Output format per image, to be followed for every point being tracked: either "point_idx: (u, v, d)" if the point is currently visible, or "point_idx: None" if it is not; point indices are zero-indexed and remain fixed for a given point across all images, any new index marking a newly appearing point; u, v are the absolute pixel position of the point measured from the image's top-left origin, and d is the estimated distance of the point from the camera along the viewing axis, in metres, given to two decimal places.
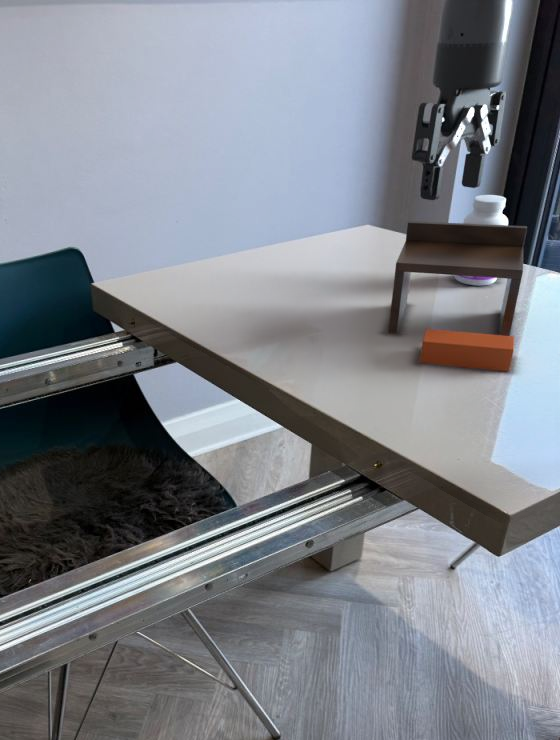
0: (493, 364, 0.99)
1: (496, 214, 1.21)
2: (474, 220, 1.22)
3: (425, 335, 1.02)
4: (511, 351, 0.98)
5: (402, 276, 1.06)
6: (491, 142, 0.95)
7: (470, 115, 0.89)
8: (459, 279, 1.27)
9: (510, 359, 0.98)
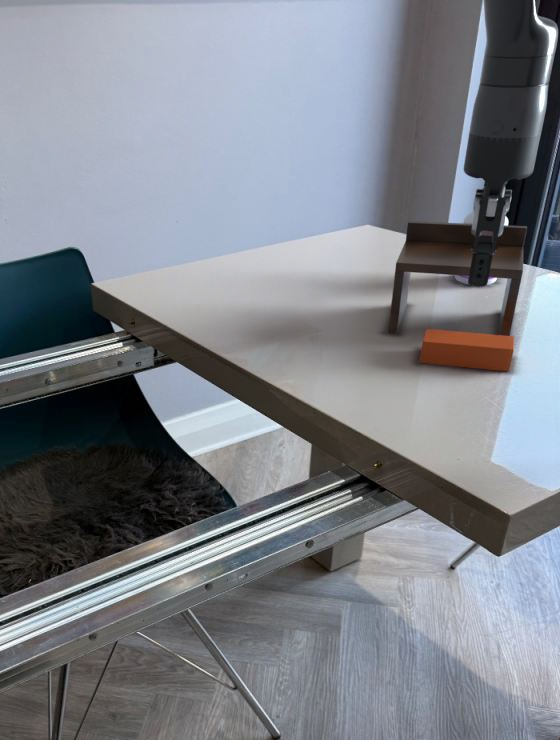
0: (493, 364, 0.99)
1: None
2: None
3: (425, 335, 1.02)
4: (511, 351, 0.98)
5: (402, 276, 1.06)
6: None
7: None
8: (459, 279, 1.27)
9: (510, 359, 0.98)
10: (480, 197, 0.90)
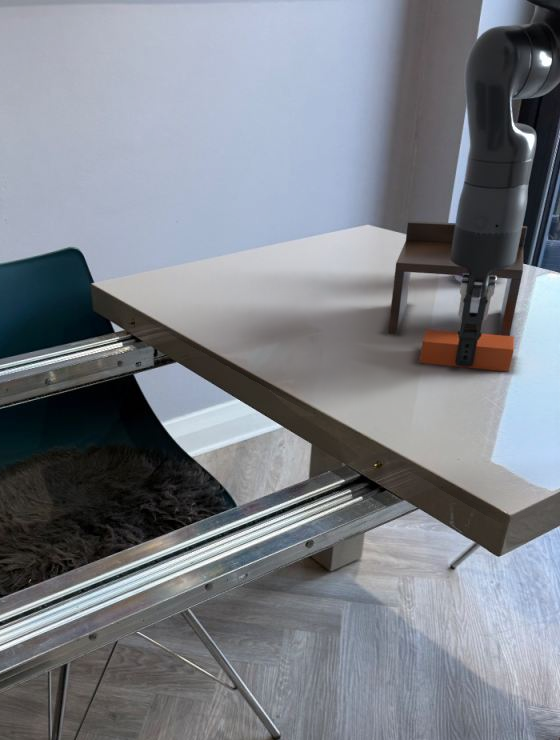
0: (493, 364, 0.99)
1: None
2: None
3: (425, 335, 1.02)
4: (511, 351, 0.98)
5: (402, 276, 1.06)
6: None
7: (494, 288, 0.95)
8: (459, 279, 1.27)
9: (510, 359, 0.98)
10: (466, 285, 0.96)
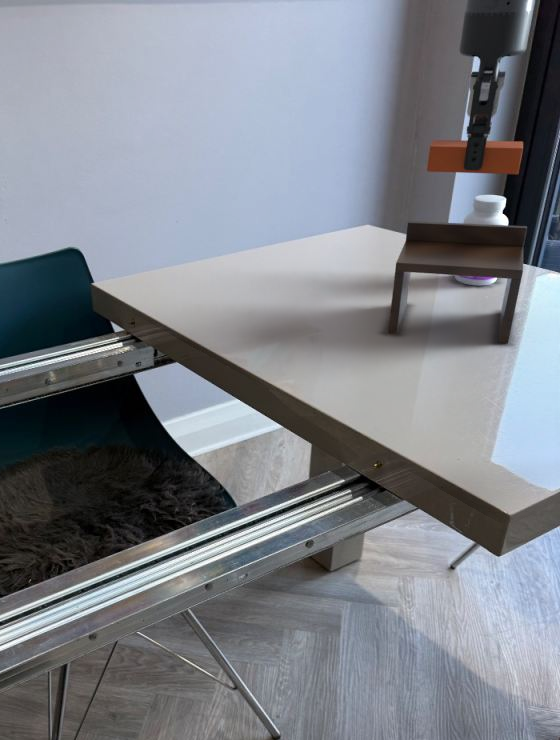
0: (502, 167, 0.98)
1: (496, 214, 1.21)
2: (474, 220, 1.22)
3: (432, 143, 1.01)
4: (520, 150, 0.96)
5: (402, 276, 1.06)
6: None
7: None
8: (459, 279, 1.27)
9: (519, 160, 0.97)
10: (475, 78, 0.94)
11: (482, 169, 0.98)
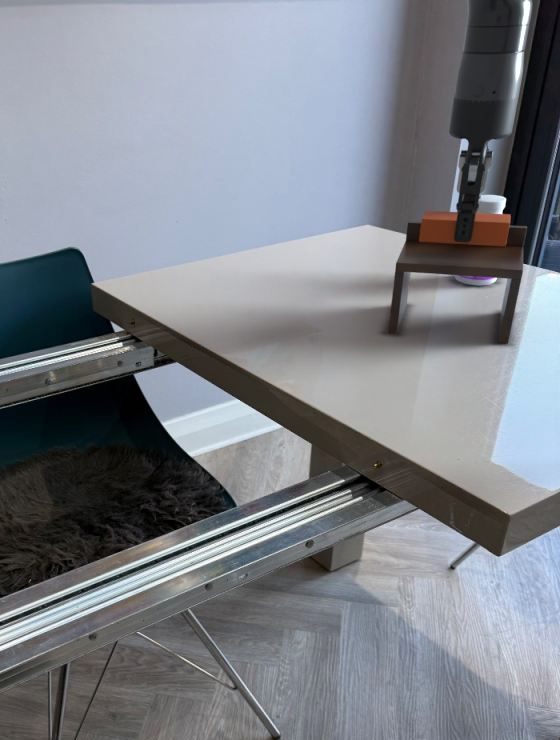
0: (490, 239, 1.03)
1: None
2: None
3: (424, 215, 1.06)
4: (507, 225, 1.01)
5: (402, 276, 1.06)
6: None
7: (491, 161, 0.99)
8: (459, 279, 1.27)
9: (506, 233, 1.02)
10: (464, 158, 0.99)
11: (471, 241, 1.04)
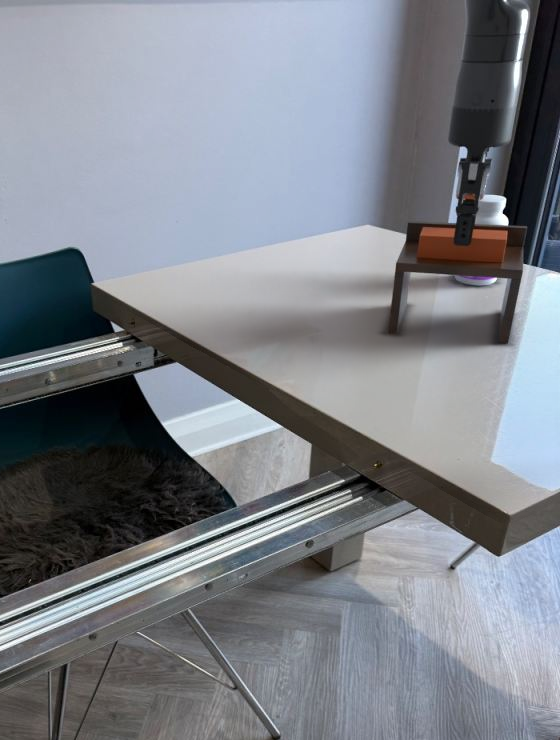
0: (487, 256, 1.04)
1: (496, 214, 1.21)
2: None
3: (422, 231, 1.07)
4: (504, 241, 1.02)
5: (402, 276, 1.06)
6: None
7: None
8: (459, 279, 1.27)
9: (503, 250, 1.03)
10: (463, 164, 1.00)
11: (469, 257, 1.05)
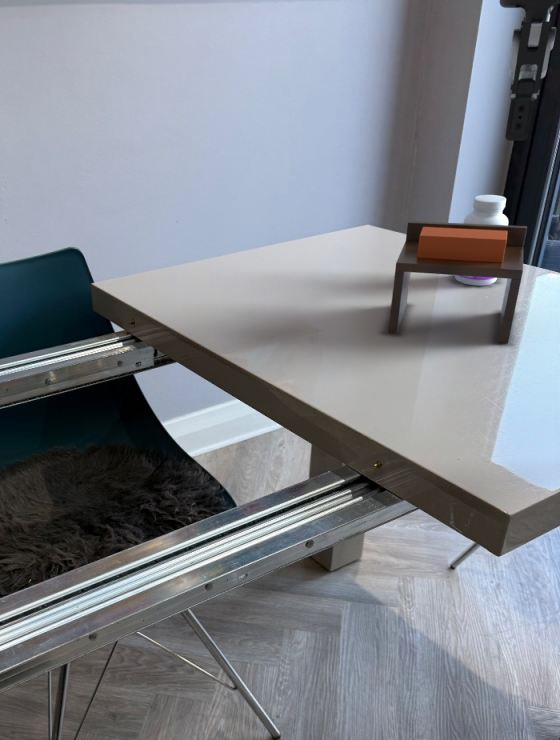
0: (487, 256, 1.04)
1: (496, 214, 1.21)
2: (474, 220, 1.22)
3: (422, 231, 1.07)
4: (504, 241, 1.02)
5: (402, 276, 1.06)
6: None
7: None
8: (459, 279, 1.27)
9: (503, 250, 1.03)
10: (519, 33, 0.78)
11: (469, 257, 1.05)
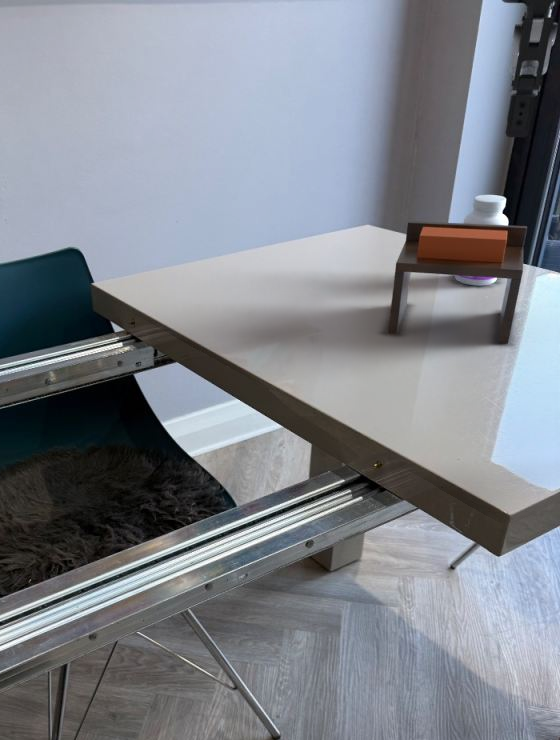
0: (487, 256, 1.04)
1: (496, 214, 1.21)
2: (474, 220, 1.22)
3: (422, 231, 1.07)
4: (504, 241, 1.02)
5: (402, 276, 1.06)
6: None
7: None
8: (459, 279, 1.27)
9: (503, 250, 1.03)
10: (520, 28, 0.77)
11: (469, 257, 1.05)
